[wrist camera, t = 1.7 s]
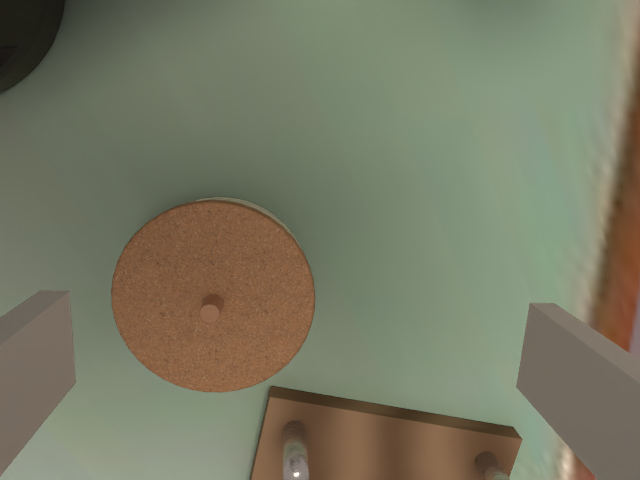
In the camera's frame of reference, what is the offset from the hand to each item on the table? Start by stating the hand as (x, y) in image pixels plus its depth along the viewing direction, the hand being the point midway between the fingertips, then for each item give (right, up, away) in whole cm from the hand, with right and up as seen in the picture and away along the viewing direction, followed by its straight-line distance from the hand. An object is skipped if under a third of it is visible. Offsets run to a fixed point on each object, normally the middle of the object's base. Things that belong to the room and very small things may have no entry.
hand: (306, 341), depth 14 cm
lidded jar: (-6, +1, +19) cm, 20 cm away
